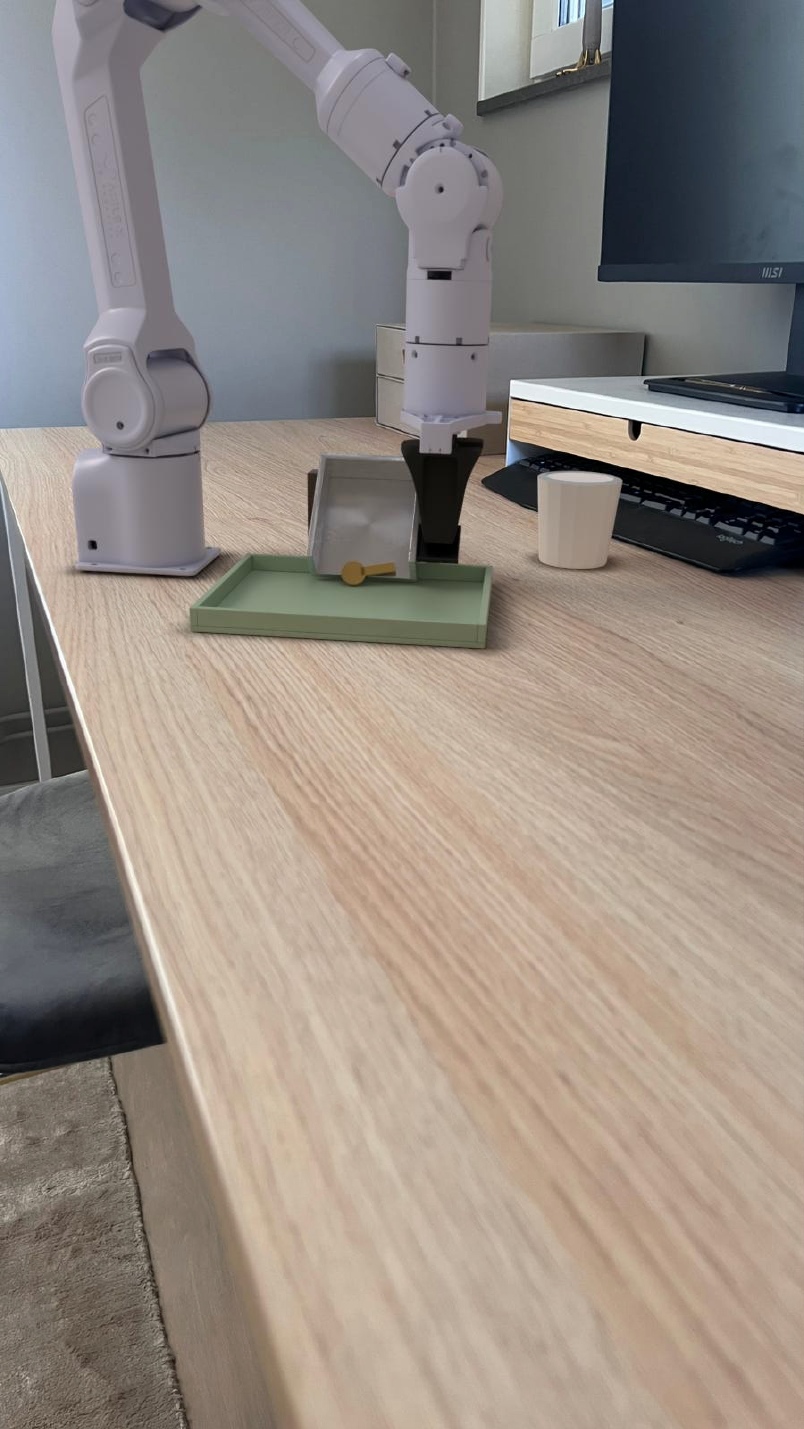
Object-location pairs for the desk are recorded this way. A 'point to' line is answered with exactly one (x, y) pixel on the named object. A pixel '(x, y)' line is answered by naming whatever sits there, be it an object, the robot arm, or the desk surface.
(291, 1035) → the desk surface
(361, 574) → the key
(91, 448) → the robot arm
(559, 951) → the desk surface
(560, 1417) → the desk surface
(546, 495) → the white cup
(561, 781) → the desk surface
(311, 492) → the stand
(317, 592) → the tray
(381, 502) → the rectangular metal pan
